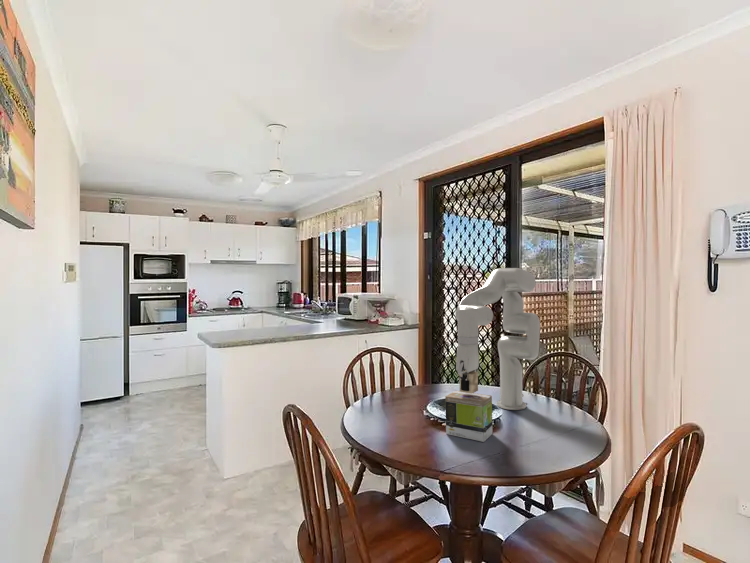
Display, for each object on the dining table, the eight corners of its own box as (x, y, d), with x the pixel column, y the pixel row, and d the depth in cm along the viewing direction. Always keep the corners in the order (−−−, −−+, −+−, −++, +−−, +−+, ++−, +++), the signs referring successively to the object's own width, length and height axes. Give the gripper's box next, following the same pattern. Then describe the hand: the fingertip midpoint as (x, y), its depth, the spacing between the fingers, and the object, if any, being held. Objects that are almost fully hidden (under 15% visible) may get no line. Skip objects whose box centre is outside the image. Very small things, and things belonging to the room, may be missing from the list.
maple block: (465, 388, 162) (465, 370, 162) (477, 390, 159) (477, 372, 159) (459, 391, 158) (459, 372, 158) (471, 393, 155) (471, 374, 155)
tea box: (493, 434, 159) (492, 395, 159) (483, 443, 151) (483, 402, 150) (455, 426, 168) (455, 389, 167) (445, 434, 159) (444, 395, 159)
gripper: (469, 336, 167) (470, 382, 168) (447, 343, 154) (448, 392, 155) (487, 338, 162) (487, 385, 163) (466, 345, 149) (467, 396, 150)
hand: (468, 388), depth 159 cm, fingers closed on maple block, 5 cm apart
